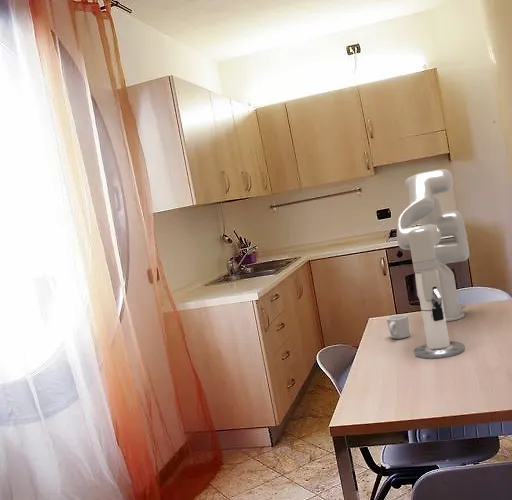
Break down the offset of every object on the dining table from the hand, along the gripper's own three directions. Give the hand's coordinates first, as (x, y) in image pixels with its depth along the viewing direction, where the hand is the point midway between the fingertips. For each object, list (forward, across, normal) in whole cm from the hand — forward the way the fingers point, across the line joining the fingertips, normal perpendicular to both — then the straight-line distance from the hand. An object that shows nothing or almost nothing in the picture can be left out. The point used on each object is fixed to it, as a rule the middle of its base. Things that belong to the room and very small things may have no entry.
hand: (433, 317), depth 204 cm
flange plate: (+11, 0, 0) cm, 11 cm away
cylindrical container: (+9, 0, 0) cm, 9 cm away
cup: (+12, -27, -4) cm, 30 cm away
